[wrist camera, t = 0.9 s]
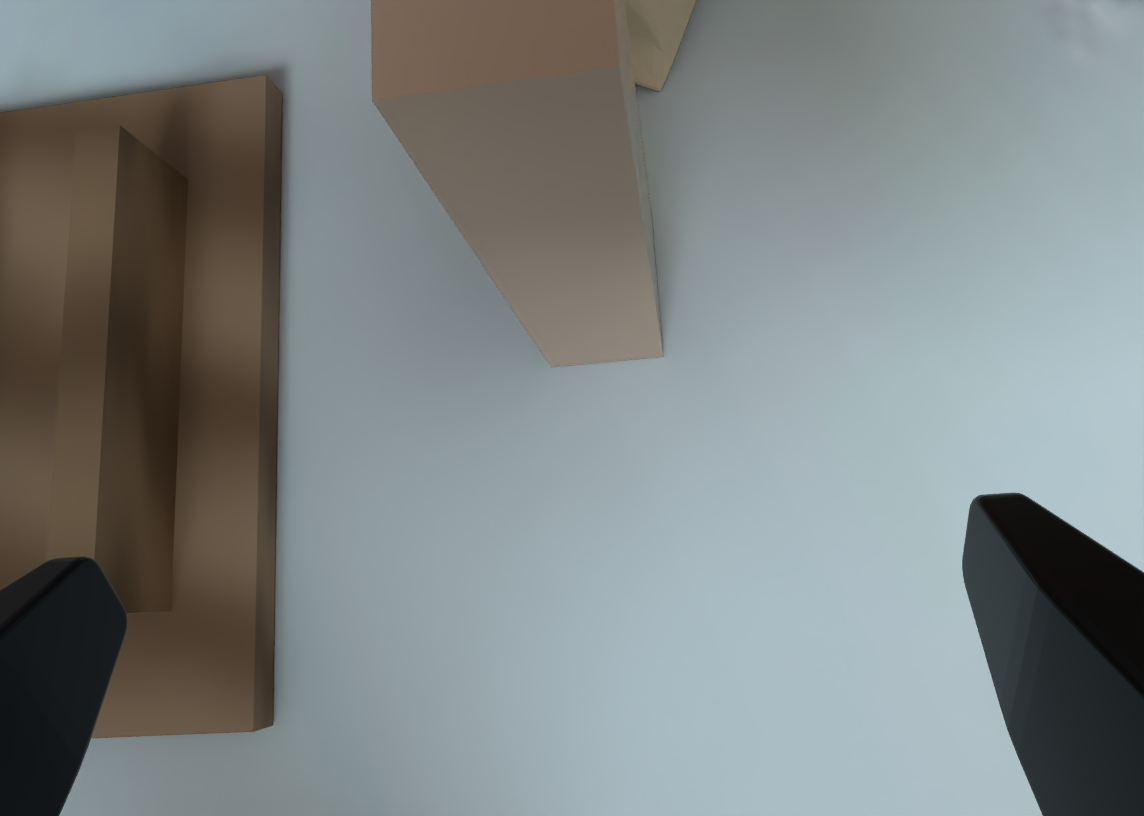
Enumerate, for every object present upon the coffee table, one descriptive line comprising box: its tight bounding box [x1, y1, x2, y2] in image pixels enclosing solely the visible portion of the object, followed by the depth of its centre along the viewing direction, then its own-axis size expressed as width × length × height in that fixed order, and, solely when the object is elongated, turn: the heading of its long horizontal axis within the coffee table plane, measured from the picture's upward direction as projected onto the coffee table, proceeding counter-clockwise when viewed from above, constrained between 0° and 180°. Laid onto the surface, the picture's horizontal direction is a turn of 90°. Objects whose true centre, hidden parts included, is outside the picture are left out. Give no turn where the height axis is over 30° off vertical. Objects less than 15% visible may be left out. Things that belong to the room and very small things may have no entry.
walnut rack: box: [0, 75, 282, 738], centre depth 23 cm, size 18×12×4 cm, turn 3°
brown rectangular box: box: [371, 0, 663, 367], centre depth 17 cm, size 3×4×13 cm
